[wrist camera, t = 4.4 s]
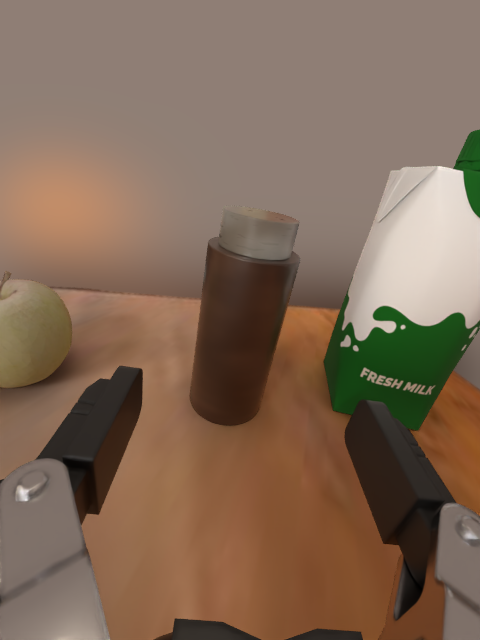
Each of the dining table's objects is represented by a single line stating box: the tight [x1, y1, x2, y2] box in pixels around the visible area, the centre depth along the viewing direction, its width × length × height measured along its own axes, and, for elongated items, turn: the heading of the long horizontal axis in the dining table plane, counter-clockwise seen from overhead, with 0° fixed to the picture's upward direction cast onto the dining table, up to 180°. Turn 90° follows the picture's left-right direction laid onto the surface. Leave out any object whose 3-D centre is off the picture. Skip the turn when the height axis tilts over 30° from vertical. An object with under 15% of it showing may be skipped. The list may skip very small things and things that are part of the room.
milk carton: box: [324, 130, 480, 431], centre depth 22 cm, size 9×9×20 cm
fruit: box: [0, 271, 72, 388], centre depth 20 cm, size 8×7×8 cm
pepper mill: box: [190, 206, 300, 425], centre depth 19 cm, size 6×6×14 cm
